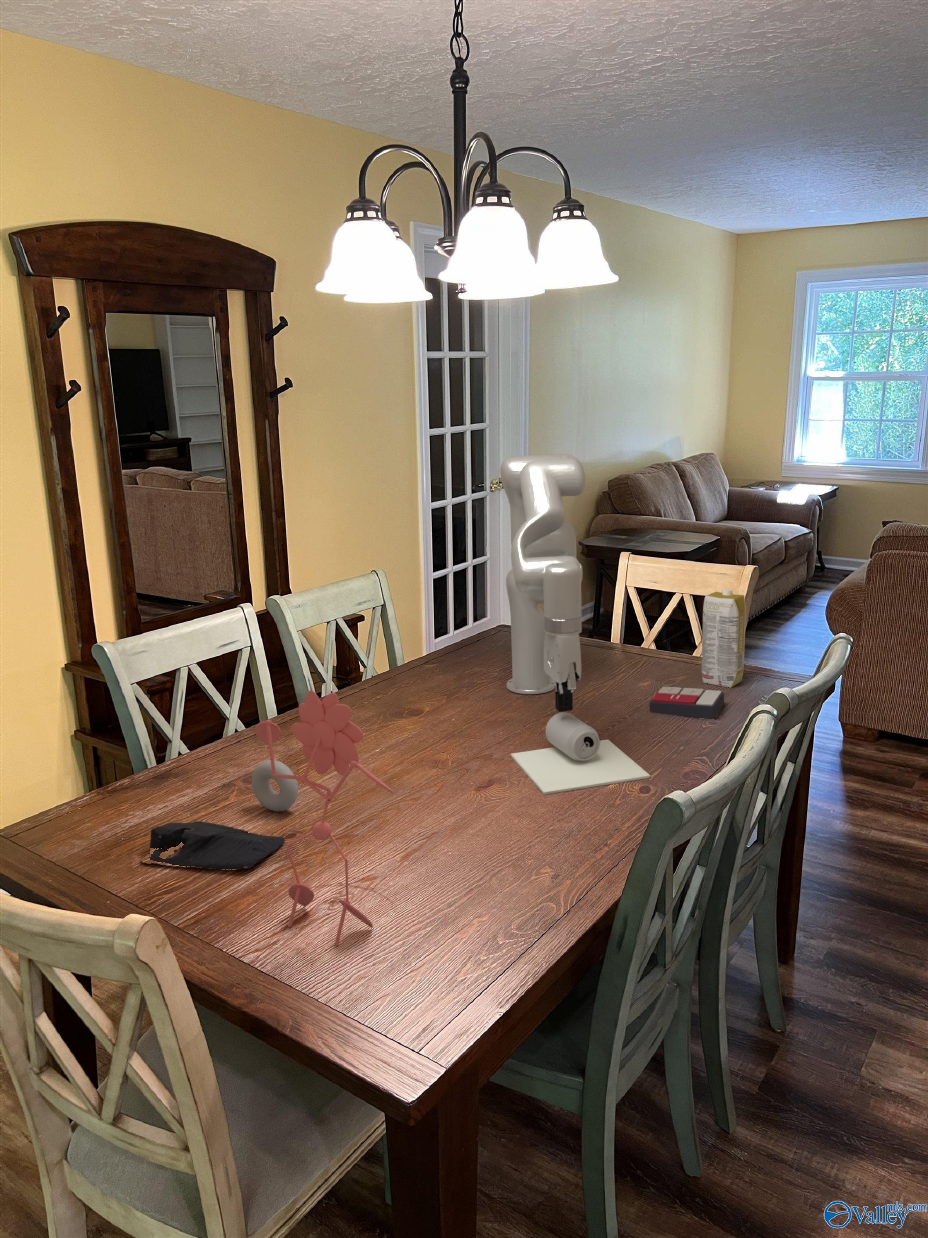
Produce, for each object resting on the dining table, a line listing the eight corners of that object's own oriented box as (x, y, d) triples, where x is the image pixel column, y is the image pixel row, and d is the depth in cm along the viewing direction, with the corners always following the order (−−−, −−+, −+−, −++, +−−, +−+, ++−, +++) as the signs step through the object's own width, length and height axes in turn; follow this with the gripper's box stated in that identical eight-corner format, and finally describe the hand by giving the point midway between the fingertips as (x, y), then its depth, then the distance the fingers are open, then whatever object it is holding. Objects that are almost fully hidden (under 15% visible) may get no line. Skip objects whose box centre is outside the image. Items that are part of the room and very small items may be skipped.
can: (581, 724, 196) (610, 742, 186) (558, 750, 196) (586, 771, 185) (559, 704, 193) (587, 721, 182) (536, 731, 192) (564, 750, 182)
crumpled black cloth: (244, 886, 146) (241, 859, 145) (132, 866, 154) (129, 840, 152) (293, 841, 160) (291, 816, 159) (189, 825, 167) (186, 801, 166)
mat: (510, 756, 191) (510, 753, 191) (607, 741, 197) (607, 739, 197) (543, 794, 173) (543, 792, 172) (650, 777, 178) (650, 775, 178)
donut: (304, 811, 170) (299, 761, 167) (292, 819, 167) (288, 768, 164) (262, 802, 174) (257, 753, 172) (250, 809, 172) (244, 760, 169)
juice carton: (746, 681, 232) (749, 589, 226) (732, 690, 226) (735, 595, 220) (711, 675, 238) (714, 585, 232) (697, 683, 232) (700, 591, 226)
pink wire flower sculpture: (378, 968, 123) (364, 721, 115) (245, 914, 137) (224, 691, 129) (444, 915, 135) (435, 689, 127) (315, 871, 149) (300, 665, 141)
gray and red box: (661, 684, 222) (724, 688, 215) (662, 701, 223) (724, 705, 216) (648, 698, 212) (713, 703, 206) (649, 716, 213) (714, 721, 206)
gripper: (532, 618, 191) (534, 701, 195) (558, 635, 177) (560, 724, 181) (566, 614, 192) (567, 696, 197) (594, 631, 178) (595, 719, 183)
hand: (564, 709), depth 189 cm, fingers closed
